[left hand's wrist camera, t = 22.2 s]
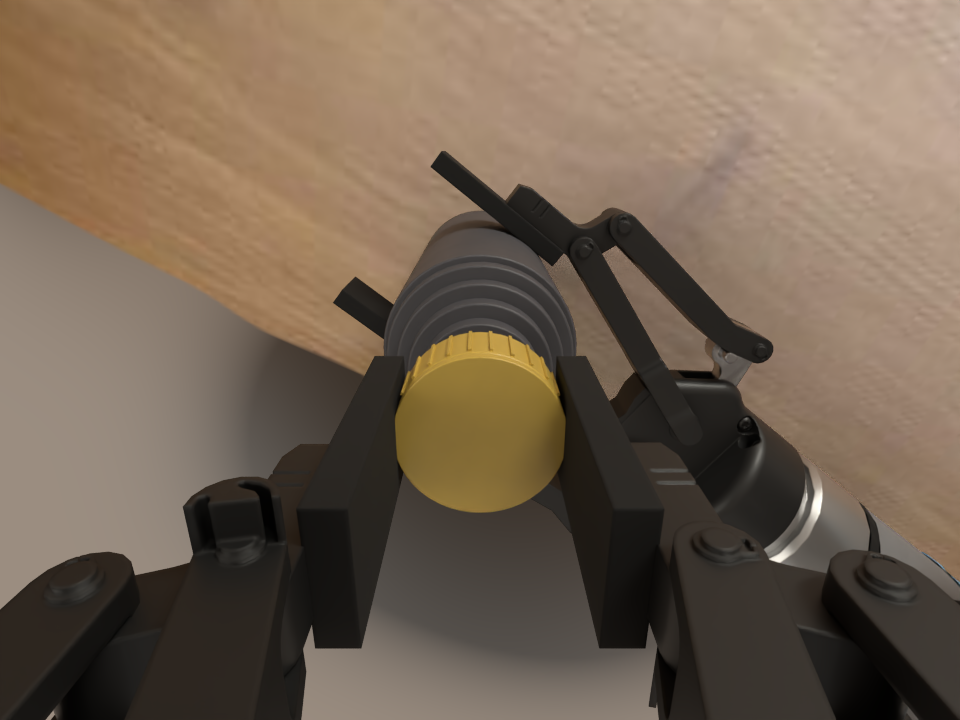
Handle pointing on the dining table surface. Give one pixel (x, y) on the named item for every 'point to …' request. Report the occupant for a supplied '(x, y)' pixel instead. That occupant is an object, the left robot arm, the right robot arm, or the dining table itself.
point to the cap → (480, 423)
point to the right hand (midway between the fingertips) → (390, 227)
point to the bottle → (479, 294)
